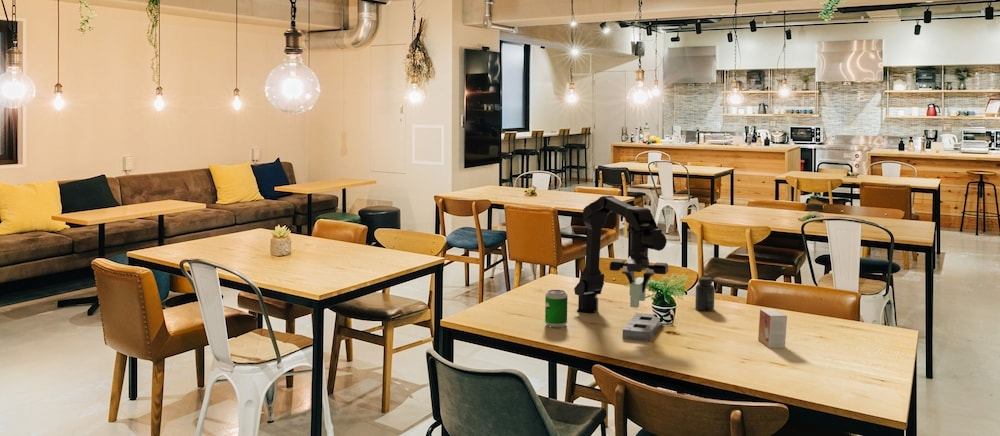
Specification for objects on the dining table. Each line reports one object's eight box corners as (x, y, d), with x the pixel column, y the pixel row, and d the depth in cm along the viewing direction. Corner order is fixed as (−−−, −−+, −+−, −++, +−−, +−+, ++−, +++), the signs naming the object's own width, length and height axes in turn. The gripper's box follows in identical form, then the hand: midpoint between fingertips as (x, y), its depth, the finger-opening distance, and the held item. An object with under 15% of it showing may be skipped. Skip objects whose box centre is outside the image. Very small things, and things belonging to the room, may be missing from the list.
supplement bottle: (712, 307, 292) (713, 276, 290) (715, 312, 285) (716, 280, 283) (693, 306, 292) (694, 275, 290) (696, 311, 286) (697, 279, 284)
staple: (629, 307, 255) (629, 284, 254) (637, 298, 266) (638, 277, 265) (638, 307, 253) (638, 285, 252) (646, 299, 265) (646, 278, 264)
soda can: (570, 324, 269) (570, 290, 267) (562, 329, 262) (563, 295, 260) (549, 321, 272) (550, 288, 270) (541, 327, 265) (542, 292, 263)
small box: (757, 340, 251) (759, 309, 249) (774, 340, 251) (776, 308, 250) (768, 348, 243) (770, 315, 242) (785, 347, 244) (787, 315, 242)
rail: (622, 338, 253) (622, 329, 252) (636, 320, 273) (636, 312, 272) (650, 341, 249) (650, 332, 249) (661, 323, 270) (662, 315, 269)
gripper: (605, 248, 253) (604, 294, 255) (662, 251, 246) (661, 299, 248) (614, 242, 263) (613, 287, 266) (669, 246, 256) (668, 292, 259)
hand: (638, 292), depth 259 cm, fingers closed on staple, 3 cm apart
